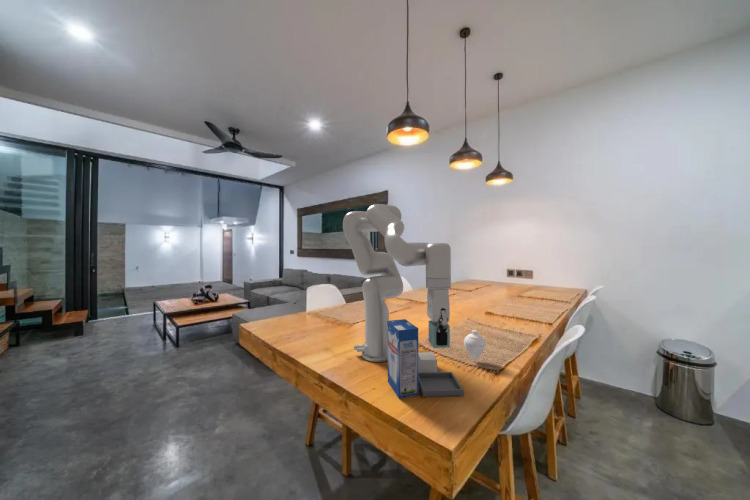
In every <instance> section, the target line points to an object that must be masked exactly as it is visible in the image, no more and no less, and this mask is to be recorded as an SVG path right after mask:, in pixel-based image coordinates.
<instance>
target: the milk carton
mask: <svg viewBox="0 0 750 500" xmlns="http://www.w3.org/2000/svg"><path fill="white" fill-rule="evenodd" d="M387 347H388V360H387V384H388V385H389V386H390V388H391V389H392V390H393V392H394V394H395V396H397V398H398V399H399V400H401V399H406V398H412V397H416V396H419V394H420V393H419V391H420V388H419V368H418V353H419V328H418V327H417V326H415V324H413V323H412V322H410V321H408V320H407V318H403V319H393V320H389V321H387Z"/></svg>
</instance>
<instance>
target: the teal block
mask: <svg viewBox="0 0 750 500" xmlns="http://www.w3.org/2000/svg"><path fill="white" fill-rule="evenodd" d="M438 321H442V320H438ZM439 325H440V326H441V325H442V324H439ZM447 327H448V328H447V330H448V332H447V345H444V346H437V344H436V332H437V322H435V323H434V322H432V321H431V320H428V342H429V343H430V345H431V347H432V348H433V349H437V348H438V349H439V348H440V349H441V348H442V349H445V348H448V349H449V348H451V334H450V333H451V326H450V325H449V324H448V326H447Z"/></svg>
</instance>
